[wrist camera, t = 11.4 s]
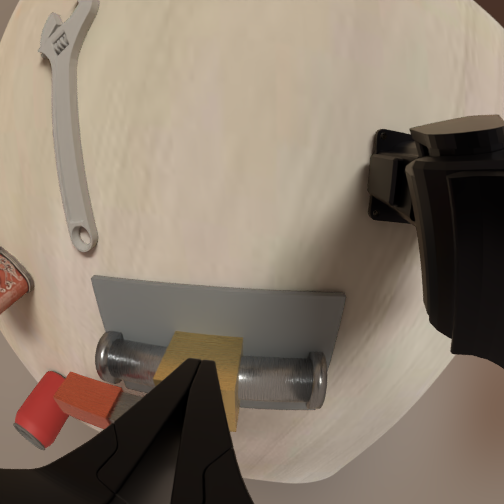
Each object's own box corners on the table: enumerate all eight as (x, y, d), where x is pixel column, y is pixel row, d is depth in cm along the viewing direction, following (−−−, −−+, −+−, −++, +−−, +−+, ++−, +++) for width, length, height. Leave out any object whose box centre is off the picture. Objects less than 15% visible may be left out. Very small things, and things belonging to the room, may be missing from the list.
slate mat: (344, 292, 21) (346, 296, 21) (315, 405, 27) (315, 409, 26) (94, 275, 22) (90, 278, 22) (128, 384, 28) (126, 388, 28)
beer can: (42, 363, 30) (3, 414, 19) (72, 377, 30) (33, 436, 19) (56, 390, 32) (24, 439, 21) (85, 404, 32) (54, 458, 21)
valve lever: (214, 405, 18) (206, 442, 15) (216, 420, 19) (209, 455, 16) (70, 371, 19) (52, 396, 15) (79, 387, 19) (63, 412, 16)
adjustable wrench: (105, 245, 22) (95, 253, 20) (57, 245, 22) (47, 252, 21) (105, -13, 12) (95, -19, 11) (55, 12, 13) (45, 8, 11)
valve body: (323, 336, 23) (335, 393, 17) (313, 380, 25) (318, 434, 19) (112, 316, 24) (79, 359, 18) (126, 360, 26) (101, 403, 20)
